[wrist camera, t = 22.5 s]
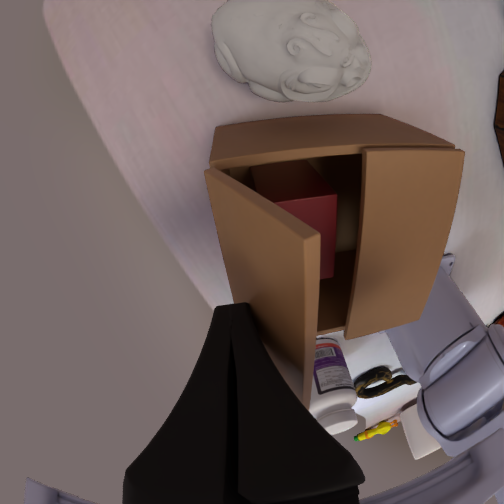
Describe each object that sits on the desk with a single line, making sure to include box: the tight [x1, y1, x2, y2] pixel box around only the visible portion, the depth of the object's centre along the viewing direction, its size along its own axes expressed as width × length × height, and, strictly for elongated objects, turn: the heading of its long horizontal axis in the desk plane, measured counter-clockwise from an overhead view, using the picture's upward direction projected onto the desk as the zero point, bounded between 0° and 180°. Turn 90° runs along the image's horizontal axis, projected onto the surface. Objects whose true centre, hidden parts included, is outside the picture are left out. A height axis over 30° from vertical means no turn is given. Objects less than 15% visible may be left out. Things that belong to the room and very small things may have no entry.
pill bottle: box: [309, 339, 357, 435], centre depth 26 cm, size 5×5×10 cm
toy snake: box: [354, 367, 417, 399], centre depth 34 cm, size 18×5×10 cm
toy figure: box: [354, 420, 398, 441], centre depth 55 cm, size 7×4×12 cm
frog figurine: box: [211, 0, 372, 102], centre depth 10 cm, size 6×7×7 cm
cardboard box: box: [209, 114, 465, 340], centre depth 15 cm, size 11×11×8 cm
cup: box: [400, 404, 441, 460], centre depth 44 cm, size 8×8×14 cm
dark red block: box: [250, 160, 337, 279], centre depth 16 cm, size 4×5×6 cm
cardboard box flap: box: [204, 168, 321, 411], centre depth 10 cm, size 5×11×1 cm
